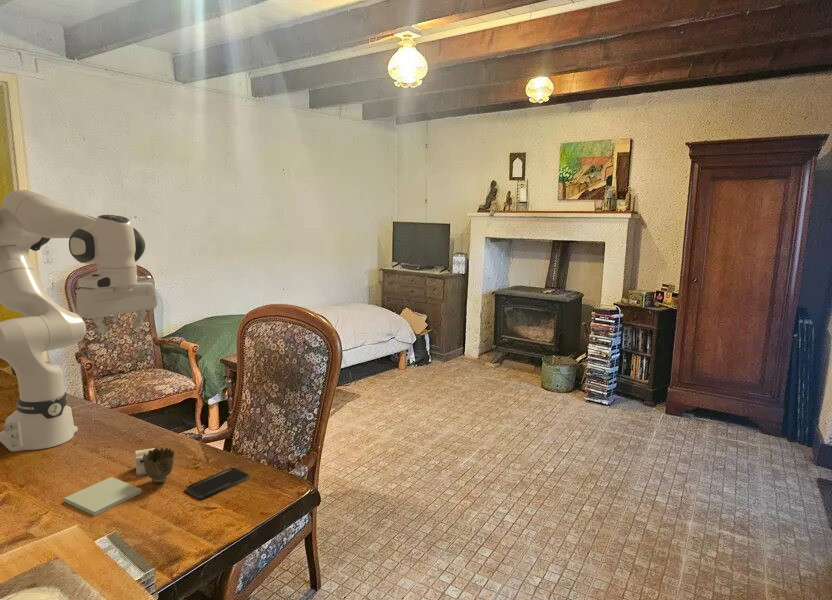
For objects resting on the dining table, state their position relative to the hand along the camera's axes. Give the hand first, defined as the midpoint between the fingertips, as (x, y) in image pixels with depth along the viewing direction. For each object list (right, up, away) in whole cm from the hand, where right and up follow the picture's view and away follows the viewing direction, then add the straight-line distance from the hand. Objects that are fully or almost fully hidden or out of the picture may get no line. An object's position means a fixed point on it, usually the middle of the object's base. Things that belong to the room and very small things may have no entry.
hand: (121, 330), depth 135 cm
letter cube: (+3, -40, +8) cm, 40 cm away
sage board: (0, -42, -7) cm, 42 cm away
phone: (+25, -42, +2) cm, 49 cm away
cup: (+9, -41, +2) cm, 42 cm away
